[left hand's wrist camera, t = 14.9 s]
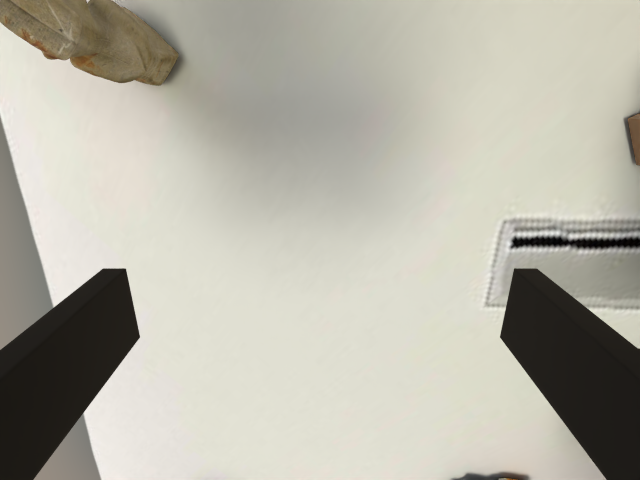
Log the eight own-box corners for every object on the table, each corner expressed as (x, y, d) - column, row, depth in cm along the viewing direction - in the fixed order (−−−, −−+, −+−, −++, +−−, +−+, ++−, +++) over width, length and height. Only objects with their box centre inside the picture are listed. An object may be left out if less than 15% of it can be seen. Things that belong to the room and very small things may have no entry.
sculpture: (131, -2, 36) (9, -66, 22) (194, 52, 37) (119, 25, 23) (101, 49, 37) (-30, 21, 23) (163, 99, 39) (76, 100, 25)
